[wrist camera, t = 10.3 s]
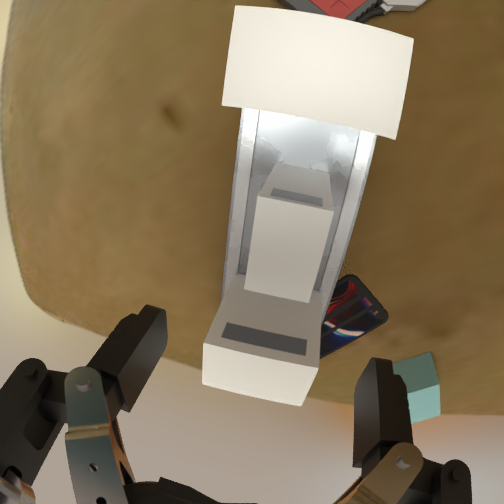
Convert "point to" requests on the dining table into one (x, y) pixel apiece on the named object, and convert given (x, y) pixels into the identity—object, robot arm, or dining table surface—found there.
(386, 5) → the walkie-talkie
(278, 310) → the module
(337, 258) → the grey rectangular tray
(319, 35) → the block
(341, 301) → the smartphone
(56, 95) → the dining table surface
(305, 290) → the block
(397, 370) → the block
